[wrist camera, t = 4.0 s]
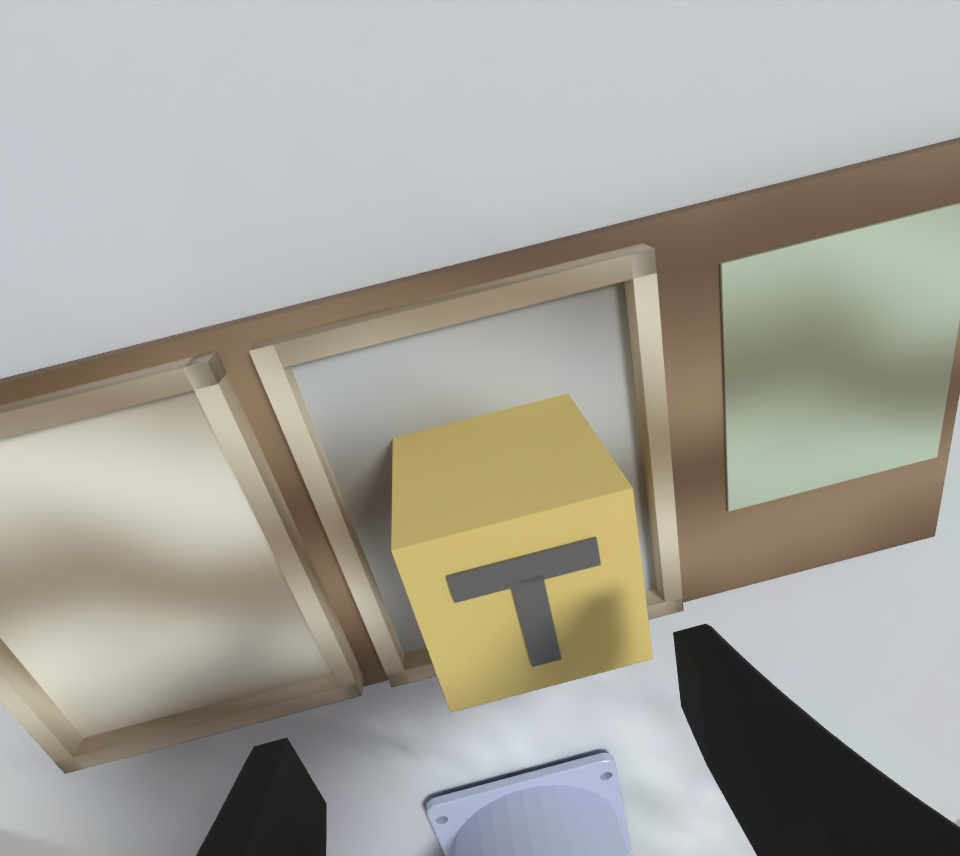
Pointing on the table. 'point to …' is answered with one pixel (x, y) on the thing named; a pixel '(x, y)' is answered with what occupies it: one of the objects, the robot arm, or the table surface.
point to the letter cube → (518, 551)
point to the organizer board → (458, 396)
